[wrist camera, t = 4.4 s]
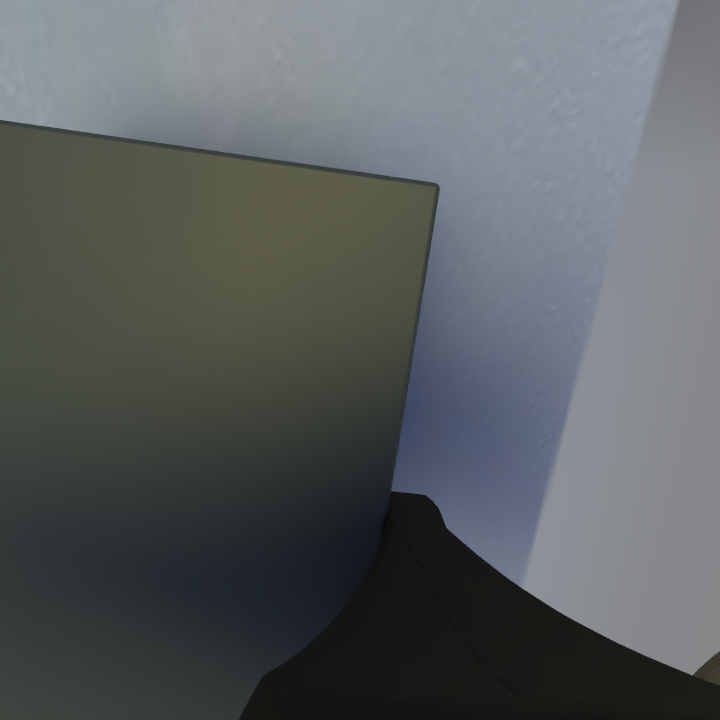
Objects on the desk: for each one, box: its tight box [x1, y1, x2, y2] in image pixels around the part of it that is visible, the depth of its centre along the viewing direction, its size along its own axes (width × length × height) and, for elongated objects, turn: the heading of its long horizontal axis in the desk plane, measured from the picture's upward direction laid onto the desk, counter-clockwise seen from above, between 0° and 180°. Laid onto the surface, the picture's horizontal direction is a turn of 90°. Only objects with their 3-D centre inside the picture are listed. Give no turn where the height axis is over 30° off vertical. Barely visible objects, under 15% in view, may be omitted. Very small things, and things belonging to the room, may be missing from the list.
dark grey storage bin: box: [0, 120, 440, 720], centre depth 14 cm, size 8×12×10 cm, turn 172°
